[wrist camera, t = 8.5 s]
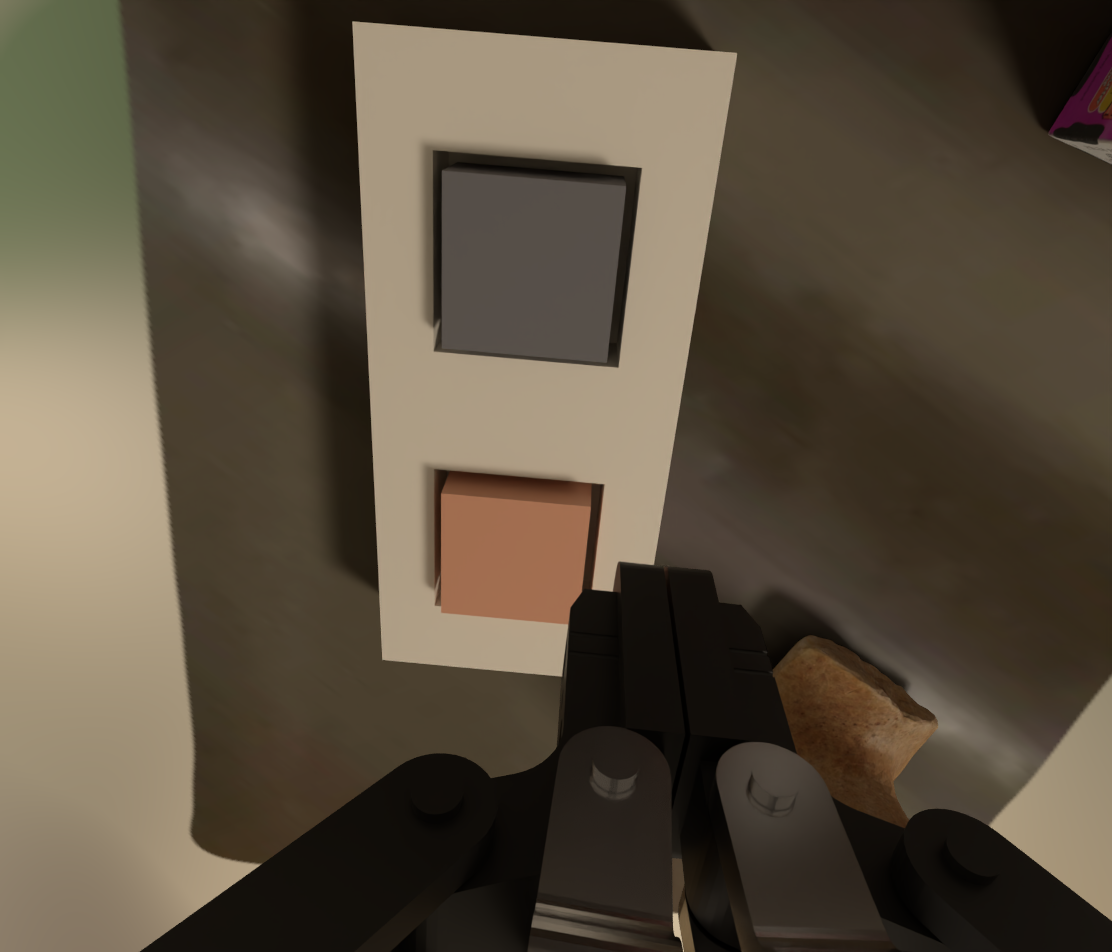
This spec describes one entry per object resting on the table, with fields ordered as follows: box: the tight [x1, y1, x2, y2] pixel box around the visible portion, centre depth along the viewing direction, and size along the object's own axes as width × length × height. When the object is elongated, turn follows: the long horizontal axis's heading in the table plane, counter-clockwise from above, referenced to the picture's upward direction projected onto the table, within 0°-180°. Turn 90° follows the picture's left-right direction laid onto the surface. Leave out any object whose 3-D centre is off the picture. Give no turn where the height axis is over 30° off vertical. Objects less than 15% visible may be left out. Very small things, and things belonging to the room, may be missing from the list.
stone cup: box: [773, 635, 938, 828], centre depth 35 cm, size 15×12×15 cm
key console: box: [352, 21, 737, 676], centre depth 31 cm, size 26×12×4 cm, turn 176°
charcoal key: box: [442, 162, 626, 363], centre depth 27 cm, size 6×6×3 cm
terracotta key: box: [441, 470, 592, 625], centre depth 32 cm, size 6×6×3 cm
